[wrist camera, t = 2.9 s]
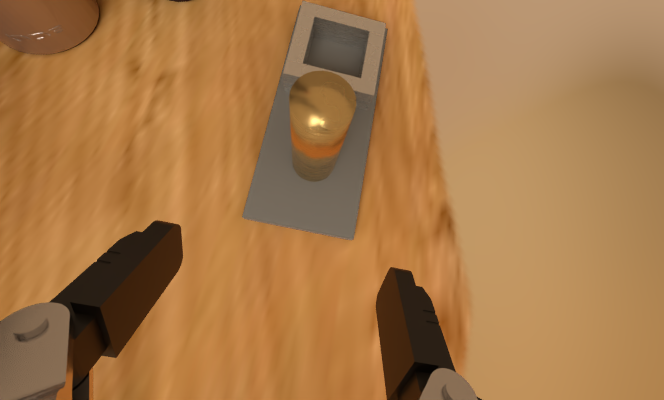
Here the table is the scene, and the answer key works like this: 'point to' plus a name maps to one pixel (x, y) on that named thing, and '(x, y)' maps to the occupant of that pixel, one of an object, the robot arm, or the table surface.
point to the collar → (339, 31)
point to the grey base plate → (293, 191)
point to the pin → (319, 122)
